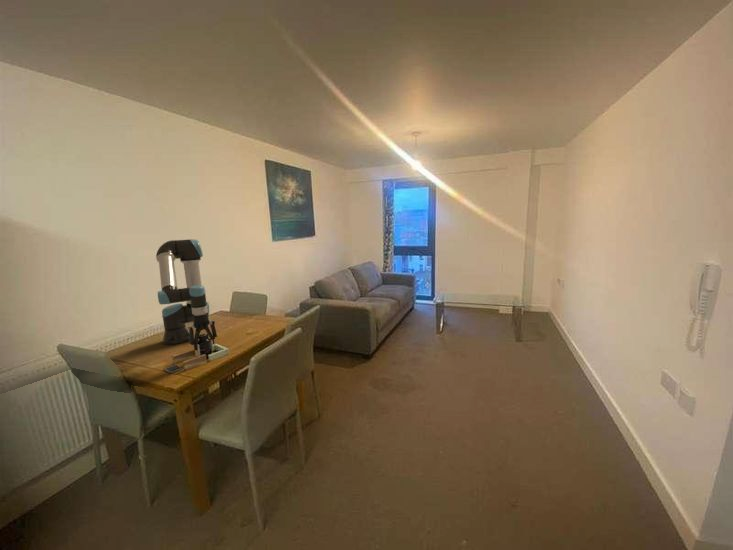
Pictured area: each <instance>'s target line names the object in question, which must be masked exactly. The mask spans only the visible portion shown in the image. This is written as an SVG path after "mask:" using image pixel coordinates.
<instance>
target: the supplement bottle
mask: <svg viewBox="0 0 733 550" xmlns="http://www.w3.org/2000/svg"><path fill="white" fill-rule="evenodd" d="M197 344H199V348H200V356H201V355H203V354H205V355H206V358H209V357H208V355H210V354H213V351H212V347H211V340H210V337H209V336H208V334H207V333H201V334H199V339H198V343H197Z"/></svg>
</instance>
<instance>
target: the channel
mask: <svg viewBox="0 0 733 550" xmlns="http://www.w3.org/2000/svg"><path fill="white" fill-rule="evenodd" d="M196 355H197V353H196V350H194V348H192V349H190V350H186V351H184V352H180V353H177V354H174V355H172V361H173V365H175V364H177V365H178V364H180V363H182V364H183V370H184V371H189V370H191V369H194V368H197V367H200V366H202V365H204V364H206V363H208V359H207V357H206V355H205V354H203V355H201V356H198V355H197V356H196Z"/></svg>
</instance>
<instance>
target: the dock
mask: <svg viewBox="0 0 733 550" xmlns="http://www.w3.org/2000/svg"><path fill="white" fill-rule="evenodd" d="M213 348H214V351H216V352H212V354H210V355H208V357H207V358H208V361H210V362H211V361H214V360H216V359H220V358H221V357H224V356H226V355H229V354H230V350H229V348H228V347H225V346H222V345H220V344H218V343H214V344H213Z"/></svg>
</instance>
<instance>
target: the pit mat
mask: <svg viewBox="0 0 733 550" xmlns="http://www.w3.org/2000/svg"><path fill="white" fill-rule="evenodd" d="M183 370H184V367H180V366H179V365H178V364H173V365H170V366H168V367H167V366H166V367H164V368H163V371H165V372H166V373H168V374H170V375H172V374H174V373H177V372H179V371H183Z"/></svg>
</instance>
